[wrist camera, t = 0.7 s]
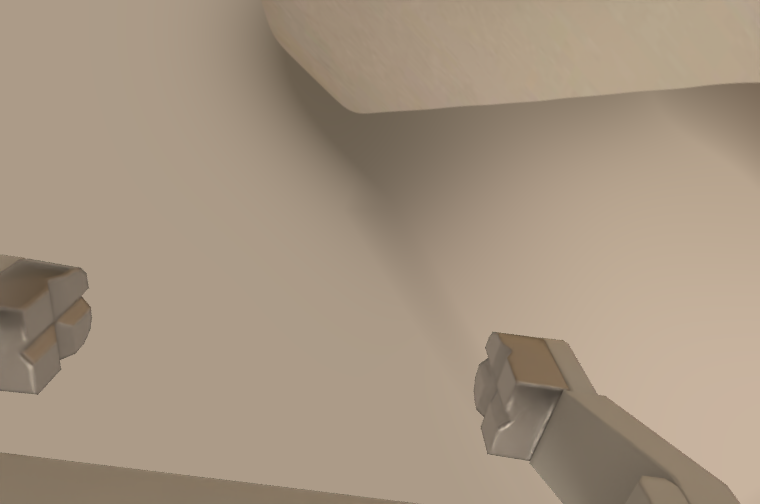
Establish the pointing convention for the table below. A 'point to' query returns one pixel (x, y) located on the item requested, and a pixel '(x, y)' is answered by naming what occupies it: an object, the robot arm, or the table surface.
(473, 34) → the table surface
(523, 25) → the table surface
